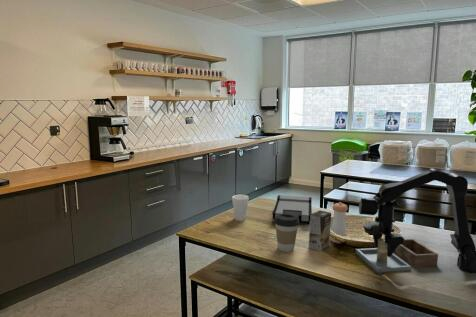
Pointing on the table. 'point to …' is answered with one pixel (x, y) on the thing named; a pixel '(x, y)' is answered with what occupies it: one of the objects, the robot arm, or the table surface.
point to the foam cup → (240, 206)
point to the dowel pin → (382, 251)
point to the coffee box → (319, 230)
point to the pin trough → (416, 254)
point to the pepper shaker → (339, 220)
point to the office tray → (294, 207)
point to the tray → (371, 260)
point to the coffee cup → (286, 231)
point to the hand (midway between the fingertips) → (382, 251)
